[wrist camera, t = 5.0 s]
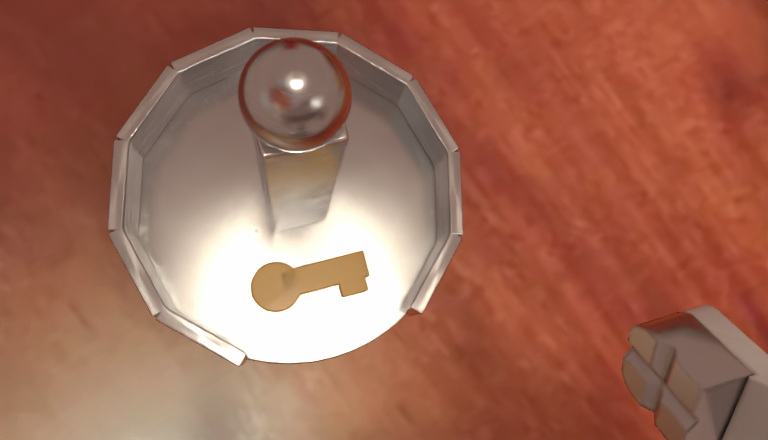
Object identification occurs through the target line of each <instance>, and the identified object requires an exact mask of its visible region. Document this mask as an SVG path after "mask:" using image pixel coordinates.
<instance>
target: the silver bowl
mask: <svg viewBox="0 0 768 440" xmlns="http://www.w3.org/2000/svg"><path fill="white" fill-rule="evenodd" d="M171 65H172V67H170V66H167V67H166V68H165V69H164V71H163V72H162V73H161V75H160V76H159V78H158V79H157V80H156V82H155V83H154V84H153V86H152V87H151V88H150V90H149V91H148V93H147V94H146V95H145V97H144V98H143V99H142V101H141V102H140V104H139V105H138V106H137V108H136V109H135V110H134V112H133V113H132V114H131V116H130V117H129V119H128V120H127V121H126V123H125V124H124V125H123V127H122V128H121V129H120V131H119V132H118V134H117V135H116V137H117V138H118V140H114V147H113V160H112V173H111V186H110V199H109V213H108V226H107V229H108V231H110V232H111V233H109V237H110V239H111V241H112V243H113V245H114V246H115V248H116V250H117V252H118V254H119V256H120V258H121V259H122V261H123V263H124V265H125V267H126V269H127V271H128V272H129V274H130V276H131V278H132V280H133V282H134V283H135V285H136V287H137V289H138V291H139V293H140V295H141V296H142V298H143V300H144V302H145V304H146V306H147V308H148V309H149V311H150V313H151V315H152V316H154V317H156V320H157V321H159V322H160V323H162V324H164V325H166V326H167V327H169V328H171V329H173V330H174V331H176V332H178V333H180V334H181V335H183V336H185V337H187V338H189V339H190V340H192V341H194V342H196V343H197V344H199V345H201V346H203V347H204V348H206V349H208V350H210V351H211V352H213V353H215V354H217V355H218V356H220V357H222V358H224V359H225V360H227V361H229V362H231V363H232V364H234V365H236V366H238V367H239V366H241V365H243V364H244V363H245V362H246V360H247V359H248V360H254V361H259V362H265V363H274V364H300V363H312V362H317V361H321V360H326V359H330V358H335V357H337V356H340V355H343V354H346V353H348V352H351V351H354V350H356V349H358V348H360V347H362V346H364V345H365V344H367V343H369V342H371V341H373V340H375V339H376V338H377V337H379V336H380V335H382V334H383V333H385V332H386V331H387V330H389V329H390V328H391V327H392V326H394V325H395V324H396V323H397V322H398V321H399V320H400V319H401V318H402V317H403V316H404V315H405V314H408V315H410V316H413V315H419V314H422V313H423V312H424V310H425V308H426V306H427V305H428V303H429V301H430V299H431V297H432V295H433V293H434V291H435V290H436V288H437V286H438V284H439V282H440V280H441V278H442V276H443V274H444V273H445V271H446V269H447V267H448V265H449V263H450V261H451V259H452V257H453V256H454V254H455V252H456V250H457V248H458V246H459V244H460V242H461V240H462V237H460V236H461V235H463V210H462V184H461V159H460V152H458V151H457V150H458V149H459V148H458V146H457V144H456V143H455V141H454V139H453V138H452V136H451V134H450V133H449V131H448V129H447V128H446V126H445V125H444V123H443V121H442V120H441V118H440V116H439V115H438V113H437V111H436V110H435V108H434V106H433V105H432V103H431V102H430V100H429V98H428V97H427V95H426V93H425V92H424V90H423V88H422V87H421V85H420V84H419V82H418V80H417V79H413V75H412V74H410V73H408V72H407V71H405V70H403V69H402V68H400V67H398V66H397V65H395V64H393V63H392V62H390V61H388V60H387V59H385V58H383V57H382V56H380V55H378V54H376V53H375V52H373V51H371V50H370V49H368V48H366V47H365V46H363V45H361V44H360V43H358V42H356V41H355V40H353V39H351V38H350V37H348V36H346V35H345V34H343V33H342V34H341V35H340V37H339V33H338V32H332V31H317V30H301V29H285V28H270V27H253V31H252V29H251V28H247V29H245V30H242V31H240V32H238V33H236V34H233V35H231V36H229V37H227V38H224V39H222V40H220V41H218V42H216V43H213V44H211V45H209V46H207V47H204V48H202V49H200V50H198V51H195V52H193V53H191V54H189V55H186V56H184V57H182V58H180V59H178V60H175V61H173V62H171ZM412 79H413V80H412ZM361 250H363V251H364V254H365V258H366V262H367V265H368V269H369V273H370V276H369V277H367V278H366V282H367V285H368V291H366V292H363V293H359V294H356V295H352V296H348V297H345V298H342V297H341V294H340V290H339V286H338V285H337V286H333V287H330V288H326V289H322V290H319V291H315V292H311V293H307V294H304V295H300V297H299V299H298V300H297V302H296V303H295V304H294V305H293V306H292V307H291V308H289V309H288V310H286V311H283V312H277V313H275V312H269V311H266V310H264V309H262V308H261V307H260V306H258V305H257V304H256V302H255V301H254V299H253V297H252V294H251V281H252V278H253V276H254V274H255V273H256V271H257V270H258V269H259V268H260V267H262V266H263V265H265V264H268V263H271V262H282V263H286V264H288V265H290V266H291V267H292V268H295V267H299V266H303V265H307V264H311V263H315V262H318V261H322V260H326V259H330V258H334V257H338V256H342V255H345V254H349V253H353V252H357V251H361Z"/></svg>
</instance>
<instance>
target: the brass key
mask: <svg viewBox="0 0 768 440" xmlns="http://www.w3.org/2000/svg"><path fill="white" fill-rule="evenodd" d="M369 276H370V273H369V269H368V265H367V262H366V258H365V254H364V251H363V250H361V251H357V252H353V253H349V254H345V255H342V256H338V257H334V258H330V259H326V260H322V261H318V262H315V263H311V264H307V265H303V266H299V267H295V268H292V267H291V266H290V265H288V264H286V263H282V262H271V263H268V264H265V265H263V266H262V267H260V268H259V269H258V270H257V271H256V273H255V274H254V276H253V278H252V281H251V294H252V297H253V299H254V301H255V302H256V304H257V305H258V306H260V307H261V308H262V309H264V310H266V311H269V312H275V313H277V312H283V311H286V310H288V309H289V308H291V307H292V306H293V305H294V304H295V303H296V302H297V300H298V299H299V297H300V295H304V294H307V293H311V292H315V291H319V290H322V289H326V288H330V287H333V286H337V285H338V286H339V290H340V294H341V297H342V298H345V297H348V296H352V295H356V294H359V293H363V292H366V291H368V285H367V282H366V278H367V277H369Z"/></svg>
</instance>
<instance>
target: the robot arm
mask: <svg viewBox="0 0 768 440" xmlns="http://www.w3.org/2000/svg"><path fill="white" fill-rule="evenodd" d="M628 341H629V343H630V344H631V345H632V348H631V349H630V350H629V351H628V352H627V353H626V355H625V356H624V357H623V363H622V369H621V370H622V374H623V378H624V382H625V385H626V387H627V388H628V390H629V392H630V394H631V395H632V397H633V398H634V399H635V401H636V402H637V403H638V404H639V405H640V406H642V407H644V408H646V409H648V410H650V411H652V412H654V423H655V426H656V427H657V428H658V430H659V431H660V432H661V433H662V435H663V436H664V437H665V438H666V440H768V354H766V353H765V352H764V351H763V350H762V349H761V348H760V347H759V346H757V345H756V344H755V343H754V342H753V341H752V340H751V339H750V338H749V337H747V336H746V335H745V334H744V333H743V332H742V331H741V330H740V329H738V328H737V327H736V326H735V325H734V324H733V323H732V322H731V321H730V320H728V319H727V318H726V317H725V316H724V315H723V314H722V313H721V312H719V311H718V310H717V309H716V308H714V307H712V306H710V305H702V306H698V307H695V308H692V309H689V310H686V311H683V312H677V313H674V314H670V315H667V316H664V317H661V318H658V319H655V320H651V321H648V322H645V323H642V324H639V325H636V326H634V327H633V328H632V329H631V330H630V333H629V336H628Z"/></svg>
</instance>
